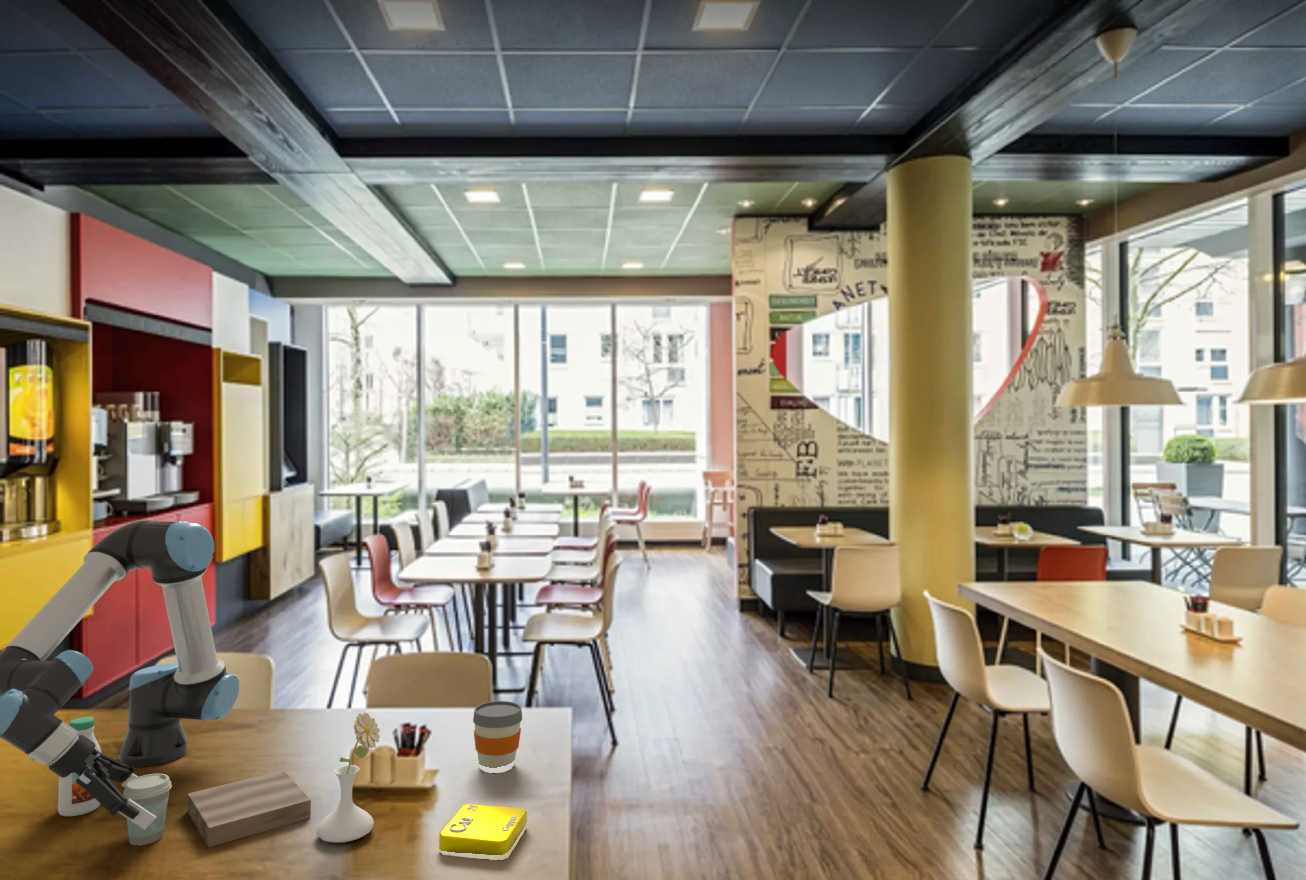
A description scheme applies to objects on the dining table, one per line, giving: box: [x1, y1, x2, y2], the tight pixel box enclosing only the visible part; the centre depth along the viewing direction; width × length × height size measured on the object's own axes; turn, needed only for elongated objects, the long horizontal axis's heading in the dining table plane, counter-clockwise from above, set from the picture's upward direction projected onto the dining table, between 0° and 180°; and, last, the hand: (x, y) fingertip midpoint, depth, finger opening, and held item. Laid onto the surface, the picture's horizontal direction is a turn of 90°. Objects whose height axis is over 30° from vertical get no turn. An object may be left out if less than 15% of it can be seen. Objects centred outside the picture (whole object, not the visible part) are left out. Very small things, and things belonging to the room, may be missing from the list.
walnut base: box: [187, 769, 312, 848], centre depth 173 cm, size 20×20×4 cm
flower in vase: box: [316, 711, 381, 844], centre depth 165 cm, size 13×11×25 cm
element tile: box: [438, 803, 528, 855], centre depth 164 cm, size 15×15×5 cm
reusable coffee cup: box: [472, 700, 523, 768], centre depth 201 cm, size 13×12×15 cm
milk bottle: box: [57, 716, 102, 817], centre depth 173 cm, size 8×8×20 cm
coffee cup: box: [122, 773, 173, 847], centre depth 161 cm, size 8×8×12 cm
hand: (151, 809), depth 161 cm, fingers open, 13 cm apart
